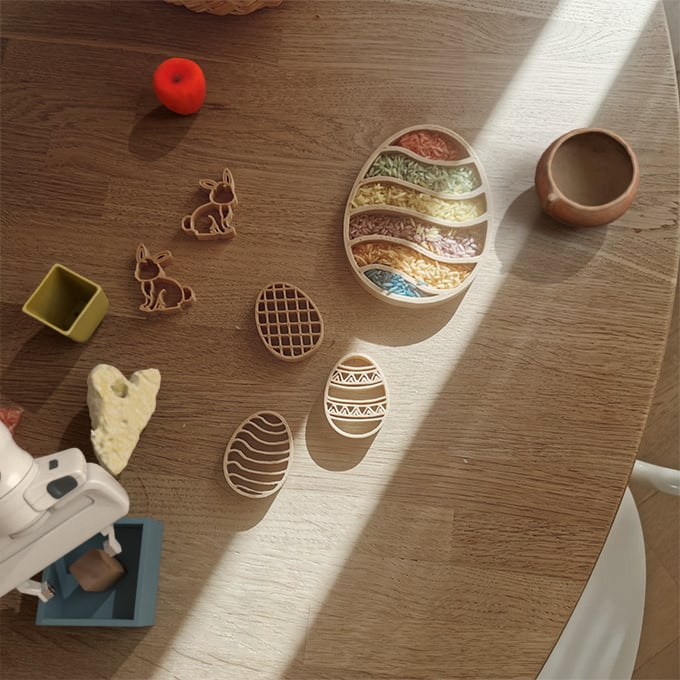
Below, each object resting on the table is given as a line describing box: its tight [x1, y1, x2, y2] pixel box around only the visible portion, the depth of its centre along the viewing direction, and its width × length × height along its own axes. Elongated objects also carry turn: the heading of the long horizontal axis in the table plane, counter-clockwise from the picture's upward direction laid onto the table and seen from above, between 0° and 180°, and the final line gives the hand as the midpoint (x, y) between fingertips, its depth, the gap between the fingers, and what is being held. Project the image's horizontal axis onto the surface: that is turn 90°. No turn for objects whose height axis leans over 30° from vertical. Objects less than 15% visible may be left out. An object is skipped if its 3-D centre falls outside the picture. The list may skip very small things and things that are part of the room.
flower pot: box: [21, 263, 110, 343], centre depth 112 cm, size 9×9×9 cm
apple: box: [152, 57, 207, 116], centre depth 125 cm, size 9×9×8 cm
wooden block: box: [69, 548, 128, 592], centre depth 98 cm, size 4×4×8 cm
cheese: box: [86, 363, 162, 476], centre depth 107 cm, size 15×7×15 cm
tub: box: [34, 517, 165, 628], centre depth 99 cm, size 14×14×7 cm
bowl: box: [534, 126, 641, 229], centre depth 114 cm, size 16×16×10 cm
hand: (83, 574), depth 93 cm, fingers open, 8 cm apart
